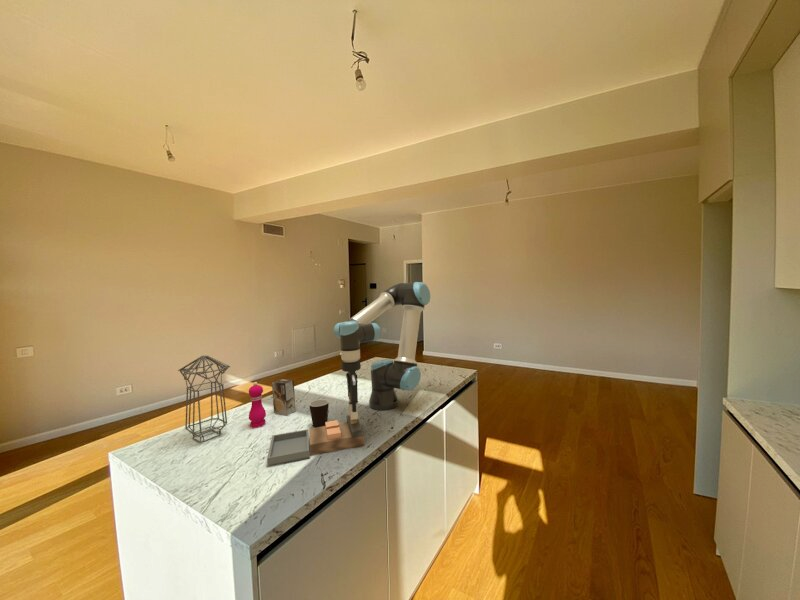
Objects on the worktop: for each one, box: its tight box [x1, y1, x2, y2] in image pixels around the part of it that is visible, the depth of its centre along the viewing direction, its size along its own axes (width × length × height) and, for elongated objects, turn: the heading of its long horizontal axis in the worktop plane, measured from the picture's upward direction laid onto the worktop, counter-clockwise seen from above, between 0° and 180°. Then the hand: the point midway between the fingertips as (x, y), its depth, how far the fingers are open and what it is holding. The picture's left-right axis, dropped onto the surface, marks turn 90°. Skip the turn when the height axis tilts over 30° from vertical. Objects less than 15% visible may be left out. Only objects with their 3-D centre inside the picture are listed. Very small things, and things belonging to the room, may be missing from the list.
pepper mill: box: [248, 381, 267, 429], centre depth 140 cm, size 7×7×20 cm
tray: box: [266, 428, 311, 467], centre depth 117 cm, size 14×18×3 cm
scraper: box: [346, 392, 364, 438], centre depth 124 cm, size 4×16×14 cm, turn 17°
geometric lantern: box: [177, 355, 231, 444], centre depth 131 cm, size 16×16×35 cm
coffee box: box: [271, 378, 297, 416], centre depth 154 cm, size 9×6×16 cm
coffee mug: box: [308, 398, 330, 428], centre depth 139 cm, size 12×9×10 cm
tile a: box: [325, 419, 339, 432], centre depth 125 cm, size 5×5×2 cm
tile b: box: [326, 427, 341, 440], centre depth 118 cm, size 5×5×2 cm
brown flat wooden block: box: [308, 421, 365, 456], centre depth 122 cm, size 20×14×4 cm
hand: (353, 417), depth 124 cm, fingers open, 3 cm apart
